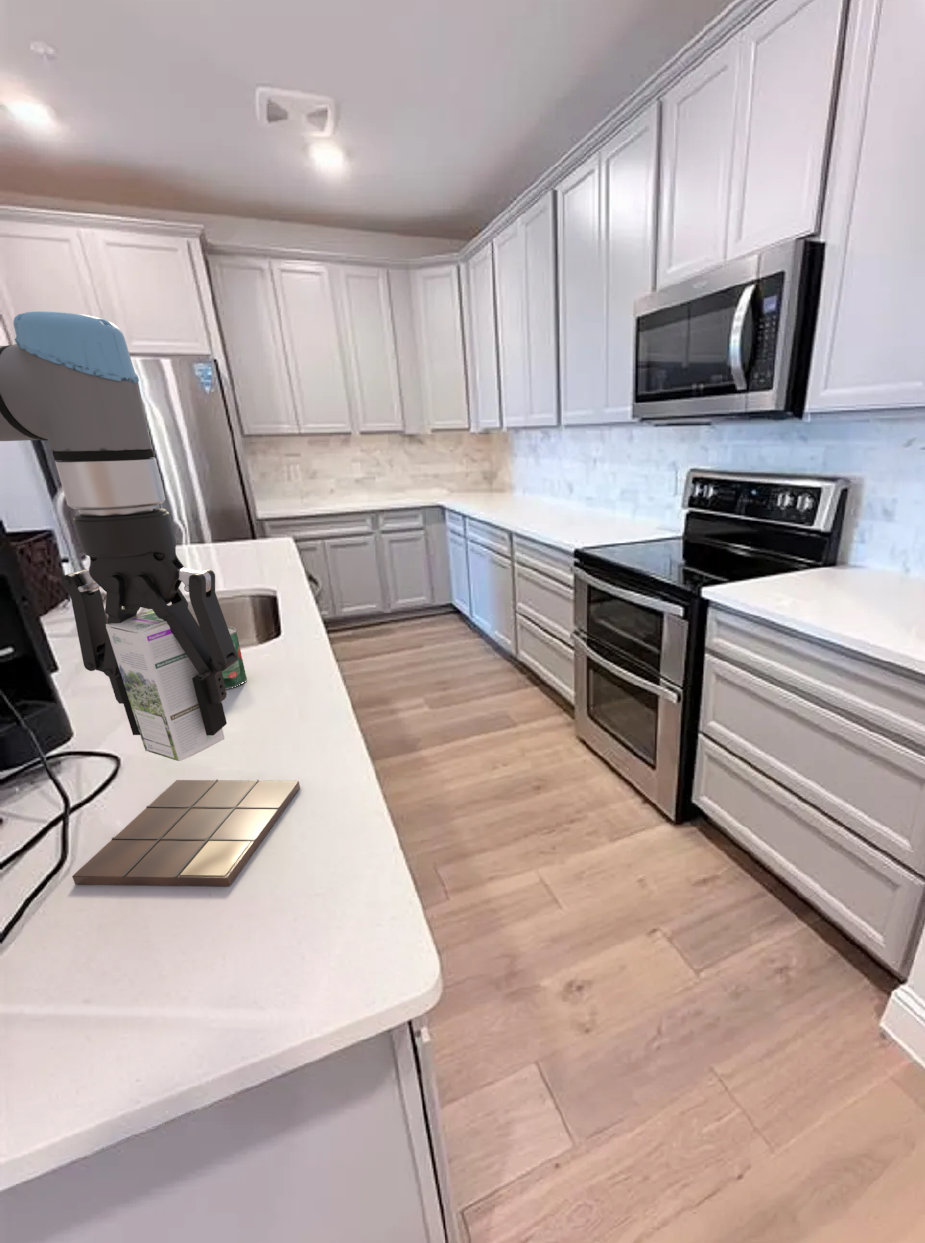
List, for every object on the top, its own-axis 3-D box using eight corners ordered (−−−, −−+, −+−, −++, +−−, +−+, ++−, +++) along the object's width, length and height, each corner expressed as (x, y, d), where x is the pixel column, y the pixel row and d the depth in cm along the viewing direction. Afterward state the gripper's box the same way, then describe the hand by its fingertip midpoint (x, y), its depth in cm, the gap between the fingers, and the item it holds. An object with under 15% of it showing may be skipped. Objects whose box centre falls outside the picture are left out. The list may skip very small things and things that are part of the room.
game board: (74, 884, 67) (71, 875, 67) (178, 786, 86) (176, 779, 85) (229, 886, 67) (227, 877, 66) (300, 787, 85) (298, 780, 85)
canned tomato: (255, 676, 124) (244, 626, 120) (231, 691, 117) (219, 639, 113) (220, 674, 126) (209, 625, 121) (195, 689, 118) (182, 637, 114)
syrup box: (227, 738, 65) (197, 613, 60) (177, 764, 60) (139, 629, 55) (192, 729, 68) (160, 606, 62) (141, 753, 63) (101, 622, 57)
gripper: (247, 503, 58) (287, 714, 66) (47, 505, 58) (113, 713, 67) (205, 513, 51) (256, 747, 59) (-22, 515, 51) (62, 746, 60)
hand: (180, 729), depth 63 cm, fingers closed on syrup box, 7 cm apart
